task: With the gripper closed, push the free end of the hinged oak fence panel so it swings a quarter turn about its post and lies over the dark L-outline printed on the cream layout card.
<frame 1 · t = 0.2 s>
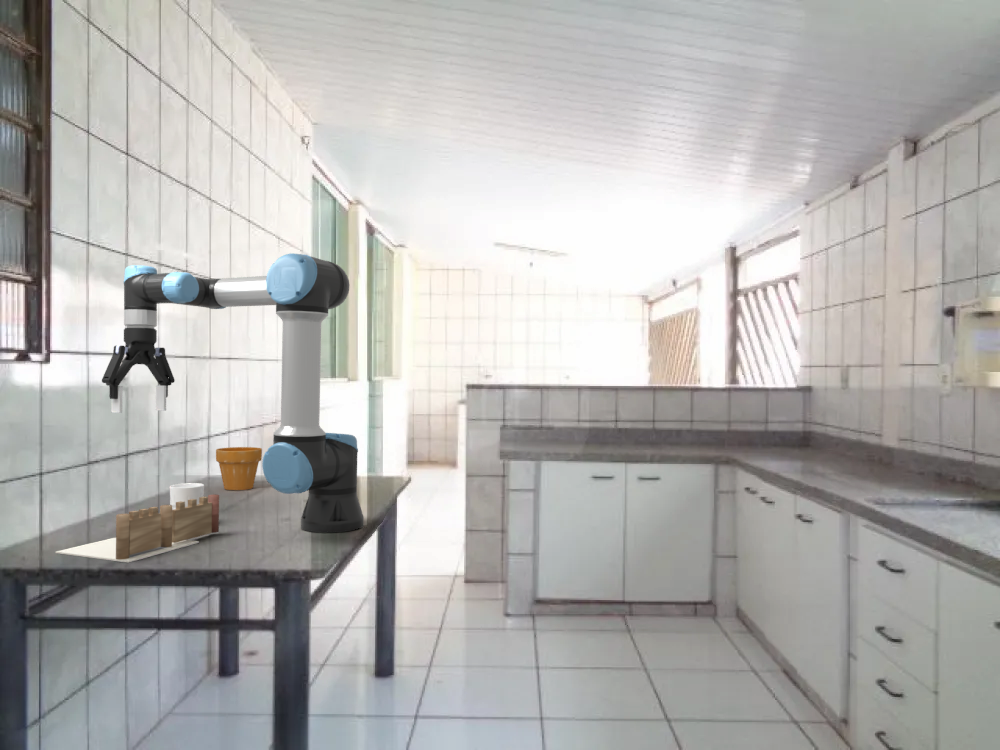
hand: (139, 411, 188), 28 cm above the table, fingers open, 13 cm apart
fixed fence: (165, 547, 159), resting on layout card
flower pot: (238, 489, 243), on the table
white cup: (186, 526, 182), on the table
swing panel: (196, 517, 167), point 5 cm above the table, hinge at 0.0°
layout card: (129, 547, 159), on the table
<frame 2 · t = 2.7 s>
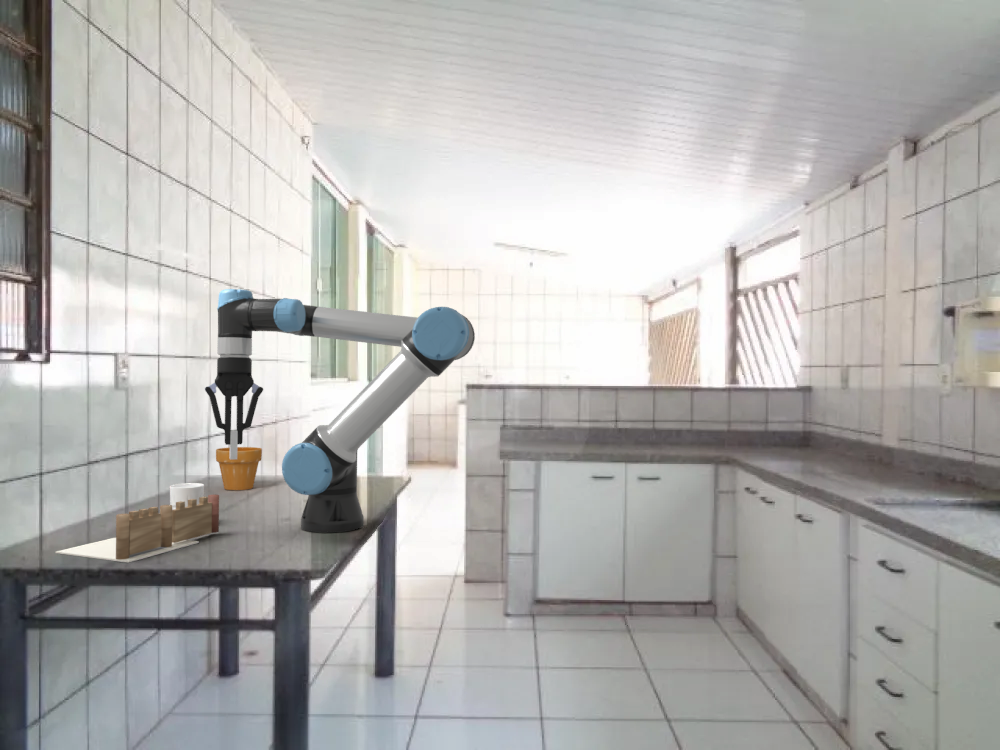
hand: (233, 458, 172), 18 cm above the table, fingers closed
nothing on the table moved.
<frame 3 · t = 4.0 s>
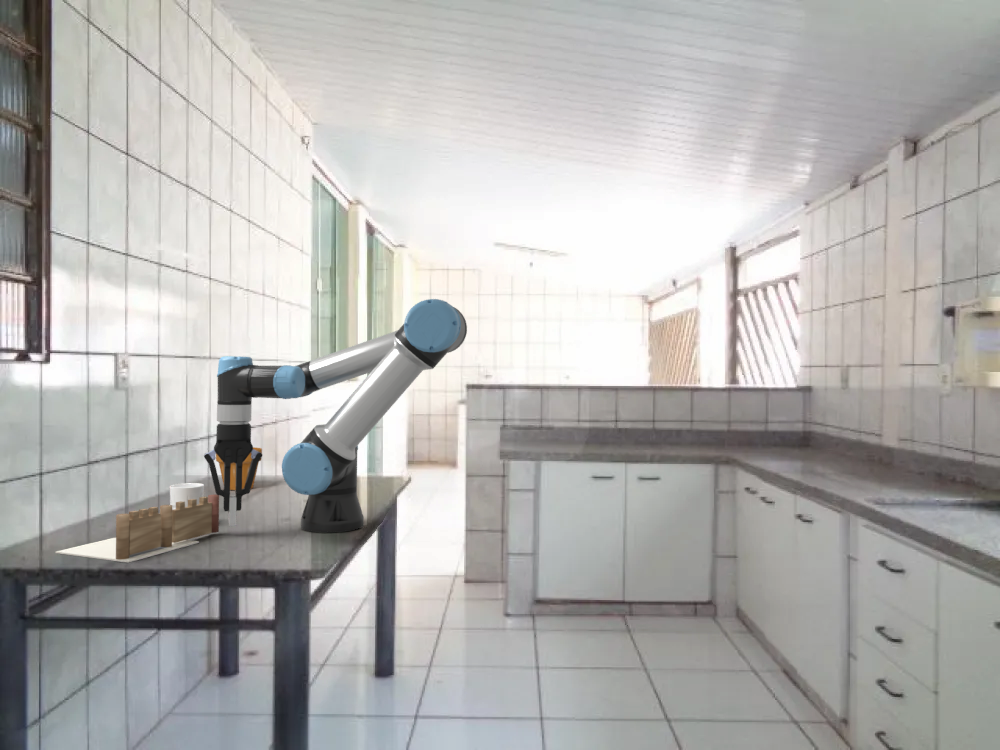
hand: (232, 524, 172), 3 cm above the table, fingers closed
nothing on the table moved.
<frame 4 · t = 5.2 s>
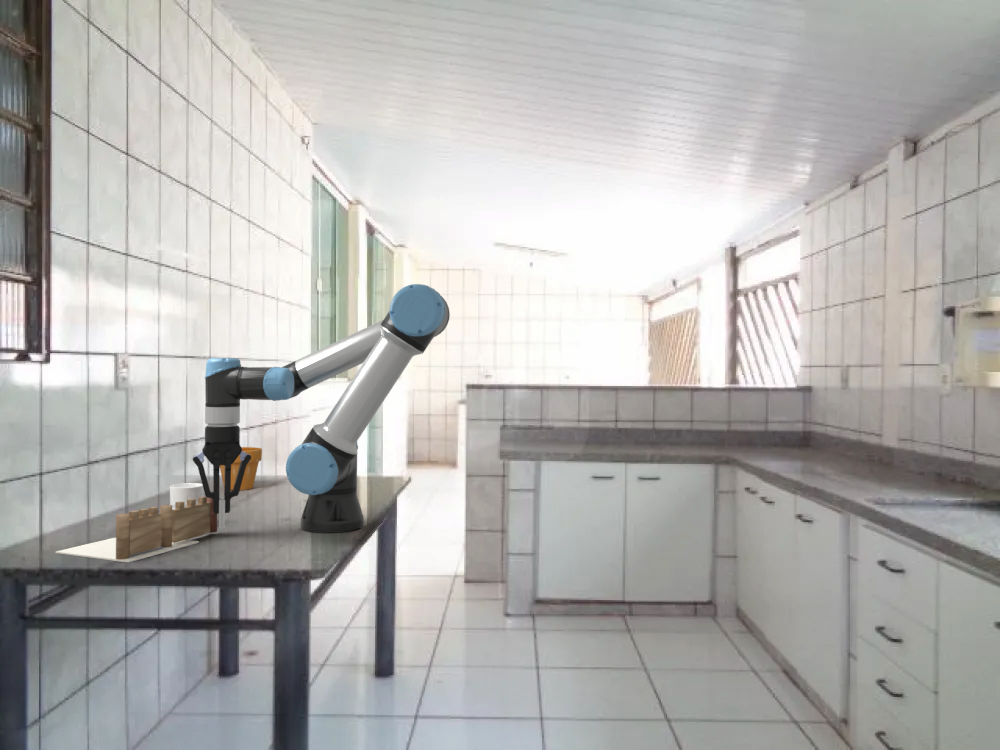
hand: (221, 527, 171), 2 cm above the table, fingers closed
swing panel: (195, 517, 168), point 5 cm above the table, hinge at 1.8°, touching gripper
everything else where it was.
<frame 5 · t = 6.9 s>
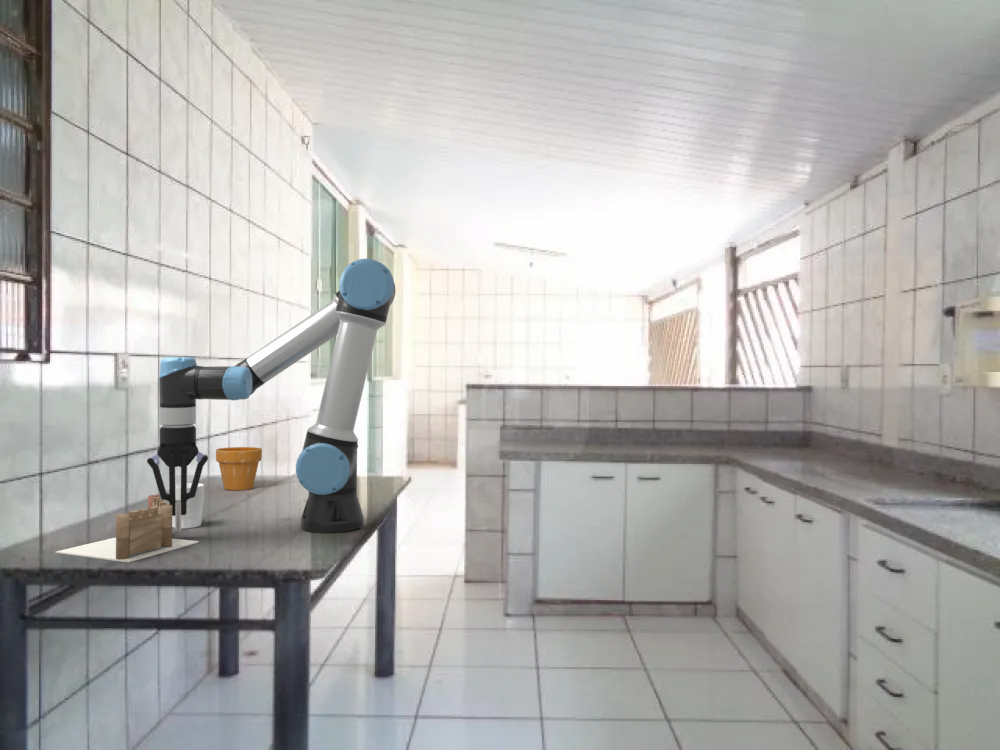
hand: (178, 529, 168), 2 cm above the table, fingers closed
swing panel: (158, 518, 166), point 5 cm above the table, hinge at 55.8°, touching gripper
everything else where it was.
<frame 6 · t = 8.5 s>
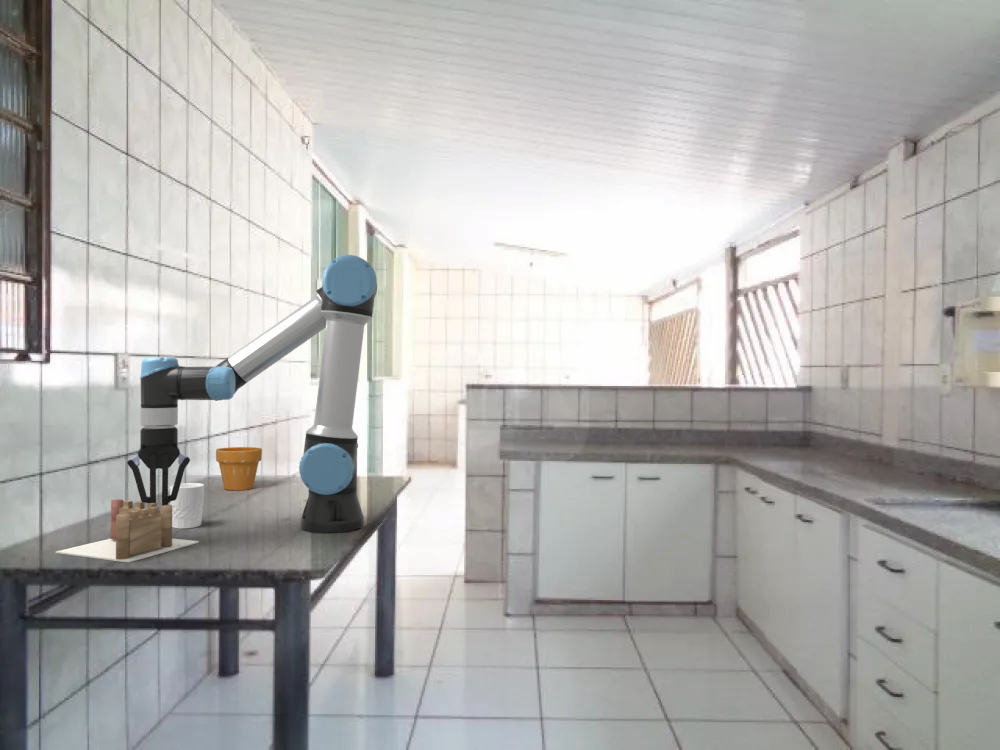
hand: (158, 533, 165), 2 cm above the table, fingers closed
swing panel: (135, 521, 163), point 5 cm above the table, hinge at 89.3°, touching gripper, hand
everything else where it was.
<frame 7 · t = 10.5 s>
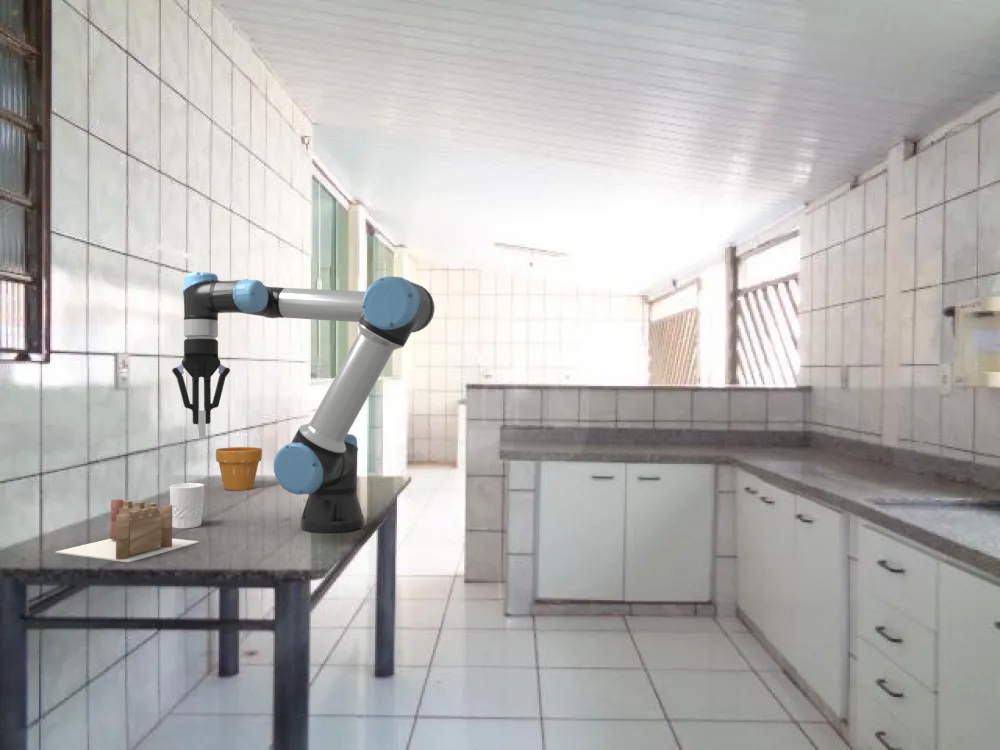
hand: (201, 438, 176), 22 cm above the table, fingers closed
swing panel: (135, 521, 163), point 5 cm above the table, hinge at 89.4°
everything else where it was.
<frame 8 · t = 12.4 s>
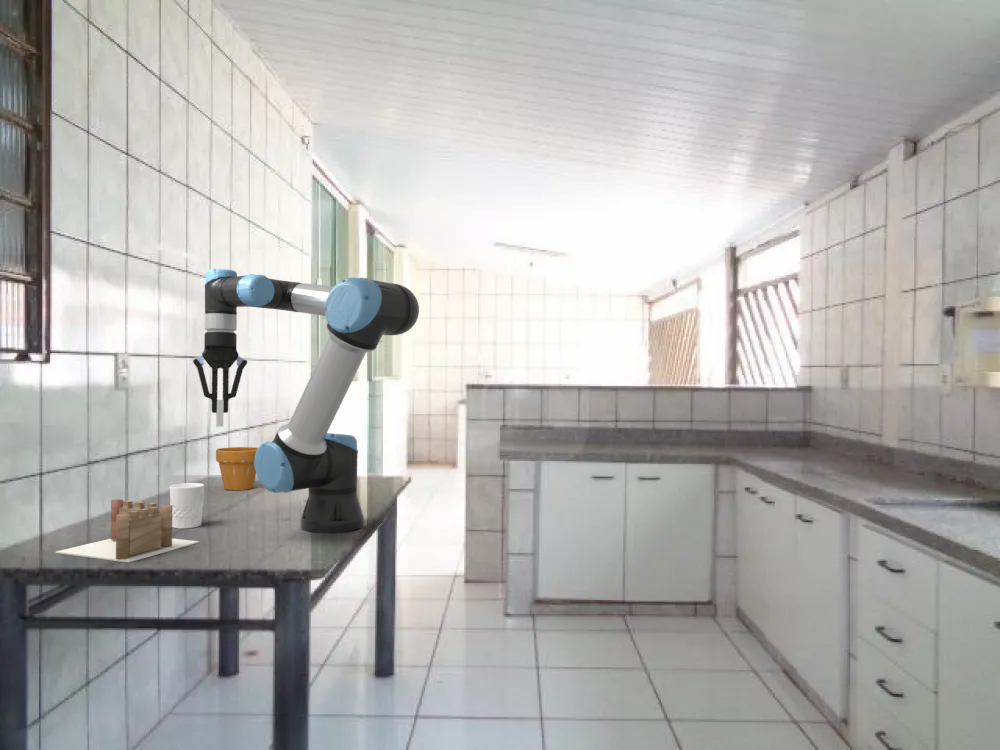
hand: (219, 426, 186), 24 cm above the table, fingers closed
nothing on the table moved.
at the end: swing panel at +89° (first picture: +0°) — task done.
